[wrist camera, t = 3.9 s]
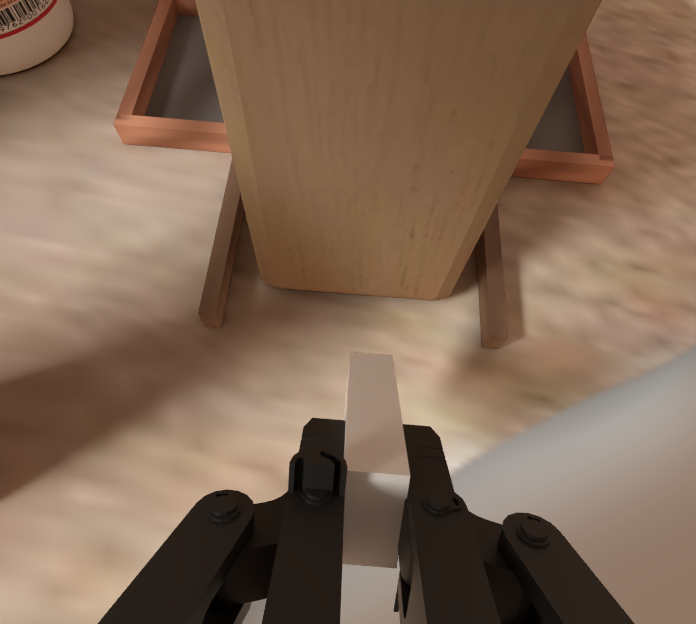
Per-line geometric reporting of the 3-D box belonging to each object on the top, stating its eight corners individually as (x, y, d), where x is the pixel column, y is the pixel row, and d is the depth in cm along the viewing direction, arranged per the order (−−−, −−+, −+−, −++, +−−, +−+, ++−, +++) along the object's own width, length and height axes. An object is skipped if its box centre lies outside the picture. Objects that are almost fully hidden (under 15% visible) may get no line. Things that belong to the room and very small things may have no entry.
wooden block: (446, 160, 29) (642, -442, 11) (450, 309, 25) (775, -278, 7) (281, 147, 29) (215, -485, 11) (257, 294, 25) (89, -346, 7)
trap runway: (63, 314, 24) (30, 285, 21) (205, -93, 40) (197, -139, 37) (636, 360, 24) (675, 337, 22) (552, -61, 40) (569, -105, 37)
